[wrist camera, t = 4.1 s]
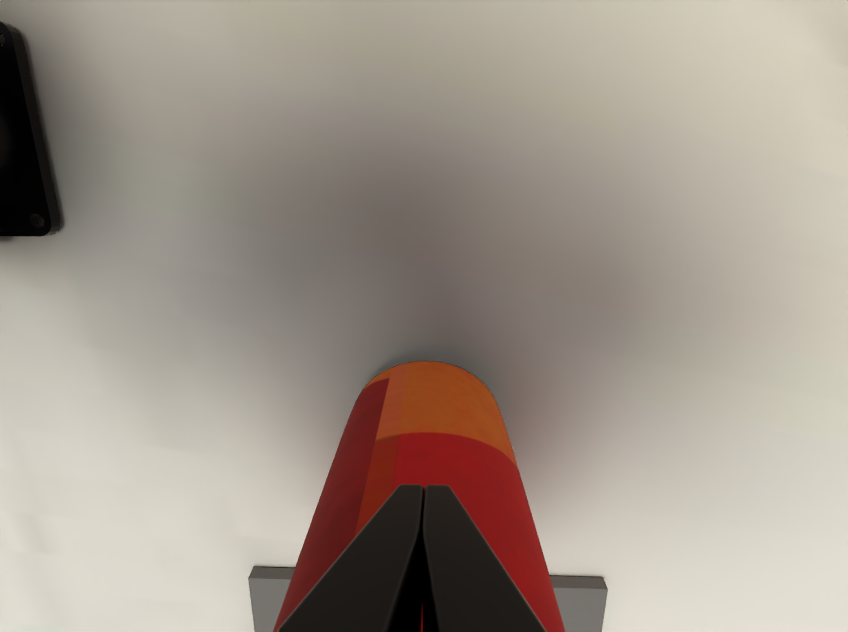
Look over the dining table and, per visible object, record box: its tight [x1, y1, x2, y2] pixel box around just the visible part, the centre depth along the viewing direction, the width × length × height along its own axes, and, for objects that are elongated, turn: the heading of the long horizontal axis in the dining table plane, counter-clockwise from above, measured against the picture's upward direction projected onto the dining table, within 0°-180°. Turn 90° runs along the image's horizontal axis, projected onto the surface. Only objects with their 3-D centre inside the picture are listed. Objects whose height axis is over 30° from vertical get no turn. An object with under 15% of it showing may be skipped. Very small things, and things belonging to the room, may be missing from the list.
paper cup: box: [273, 361, 565, 632], centre depth 12 cm, size 8×8×14 cm
